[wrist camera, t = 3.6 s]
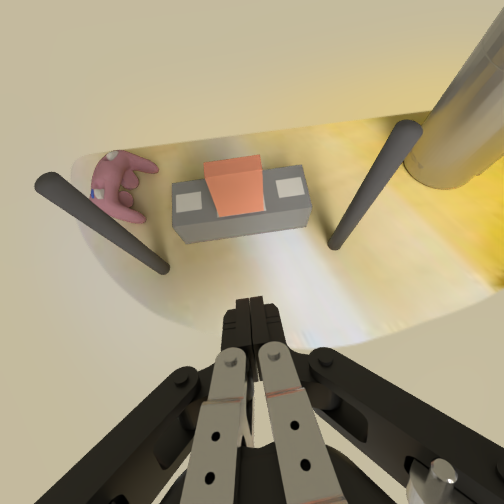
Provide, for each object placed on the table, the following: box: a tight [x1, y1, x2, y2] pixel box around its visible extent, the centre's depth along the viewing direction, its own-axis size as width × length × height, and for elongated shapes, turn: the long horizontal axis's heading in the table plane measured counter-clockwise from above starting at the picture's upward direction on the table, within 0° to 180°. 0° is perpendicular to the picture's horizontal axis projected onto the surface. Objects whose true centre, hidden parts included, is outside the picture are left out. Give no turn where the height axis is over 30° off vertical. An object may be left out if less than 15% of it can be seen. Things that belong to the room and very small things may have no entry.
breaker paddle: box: [204, 155, 264, 217], centre depth 25 cm, size 5×2×7 cm, turn 97°
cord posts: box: [35, 120, 423, 275], centre depth 23 cm, size 24×2×18 cm, turn 97°
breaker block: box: [172, 165, 312, 244], centre depth 32 cm, size 16×6×5 cm, turn 97°
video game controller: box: [90, 150, 159, 223], centre depth 34 cm, size 10×5×7 cm, turn 176°
